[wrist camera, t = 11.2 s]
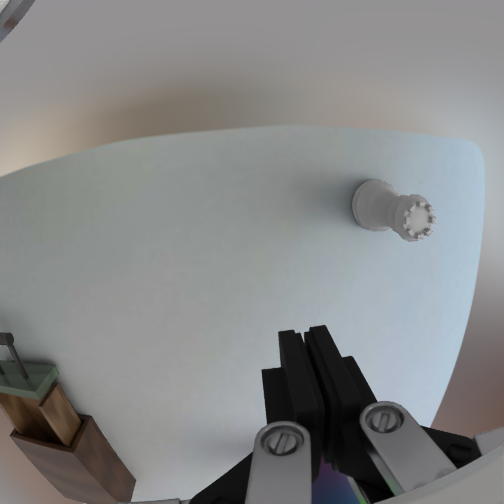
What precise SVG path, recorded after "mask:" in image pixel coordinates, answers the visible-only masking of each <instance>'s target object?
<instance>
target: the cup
mask: <svg viewBox="0 0 504 504" xmlns="http://www.w3.org/2000/svg"><path fill="white" fill-rule="evenodd" d="M311 504H360V502H359V500H358V498H357V496H356V494H355V493H354V491H353V489H352V487H351V485H350V483H349V481H348V478H347V475H345V474H342V473H340V472H339V470H336V471H333V470H332V467H331V463H329V464H325V462H324V459H323V455H322V458H321V465H320V471H319V477H318V478H317V479H316V480H315V481H314V482H313V484H312V485H311Z"/></svg>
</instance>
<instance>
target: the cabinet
mask: <svg viewBox="0 0 504 504" xmlns="http://www.w3.org/2000/svg"><path fill="white" fill-rule="evenodd" d="M77 416H78V417H79V419H80V420H81V422H82V424H83V425H82V427H81V429H80V431H79V433H78V435H77V437H76V439H75V441H74V443H73V445H72V447H71V448H68V447H63V446H59V445H54V444H50V443H46V442H42V441H39V440H35V439H31V438H28V437H25V436H21V435H20V434H19V433H18V432H17V430H16V429H15V428H14V430H13V431H12V433H11V434H10V437H11V438H12V440H13V441H14V442H15V443H16V445H17V446H18V447H19V448H20V450H21V451H22V452H23V453H24V454H25V456H26V457H27V458H28V459H29V460H30V461H31V462H32V464H33V465H34V466H35V467H36V468H37V469H38V470H39V471H40V472H41V474H42V475H43V476H44V477H45V478H46V479H47V480H48V481H49V482H50V483H51V484H52V485H53V486H54V487H55V488H56V489H57V490H58V491H59V492H60V493H61V494H62V495H63V496H65V497H66V498H69V499H72V500H76V501H80V502H83V503H87V504H112V503H118V502H131V499H132V495H133V491H134V487H135V482H136V480H135V478H134V477H133V476H132V474H131V473H130V472H129V471H128V469H127V468H126V467H125V465H124V464H123V463H122V461H121V460H120V459H119V457H118V456H117V454H116V453H115V452H114V450H113V449H112V447H111V446H110V444H109V443H108V441H107V440H106V438H105V437H104V435H103V434H102V432H101V431H100V429H99V428H98V426H97V424H96V423H95V421H94V419H93V418H92V416H85V415H77Z"/></svg>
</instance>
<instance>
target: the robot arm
mask: <svg viewBox="0 0 504 504" xmlns="http://www.w3.org/2000/svg"><path fill="white" fill-rule="evenodd" d="M9 2H10V0H0V13H1V12H2V11H3V9H4V8H5V7H6V6H7V4H8V3H9ZM278 336H279V348H280V361H281V367H279V368H271V369H263V370H262V380H263V389H264V399H265V408H266V418H267V425H266V426H265V427H263V428H262V429H261V430H260V431H259V432H258V433H257V436H256V438H255V443H254V449H253V452H252V453H250V454H249V455H248V456H247V457H245V458H244V459H243V460H242V461H241V462H239V463H238V464H237V465H236V466H234V467H233V468H232V469H230V470H229V471H228V472H227V473H225V474H224V475H223V476H221V477H220V478H219V479H217V480H216V481H215V482H213V483H212V484H211V485H209V486H208V487H206V488H205V489H204V490H202V491H201V492H199V493H198V494H196V495H195V496H194V497H193V498H192V499H189V500H182V501H180V499H179V498H176V499H168V500H157V501H144V502H118V503H112V504H311V485H312V484H313V482H314V481H315V480H316V479H317V478H318V477H319V471H320V465H321V458H322V455H323V459H324V462H325V464H329V463H331V467H332V470H333V471H336V470H339V472H340V473H342V474H345V475H347V478H348V481H349V483H350V485H351V487H352V489H353V491H354V493H355V494H356V496H357V498H358V500H359V502H360V504H504V426H502V427H499V428H496V429H492V430H489V431H486V432H483V433H479V434H476V435H474V436H473V438H472V439H470V438H468V437H465V436H461V435H457V434H452V433H448V432H443V431H440V430H436V429H432V428H428V427H424V426H421V425H419V424H418V423H417V422H416V420H415V419H414V418H413V417H412V416H411V415H410V414H409V412H408V411H407V410H406V409H405V408H404V407H402V406H401V405H399V404H397V403H395V402H390V401H380V402H377V400H376V398H375V396H374V394H373V392H372V390H371V389H370V387H369V385H368V383H367V381H366V379H365V378H364V376H363V374H362V372H361V370H360V368H359V367H358V365H357V363H356V361H355V359H354V358H353V357H352V356H347V357H341V355H340V353H339V351H338V349H337V347H336V345H335V343H334V341H333V339H332V337H331V335H330V333H329V331H328V329H327V327H326V326H325V325H322V326H315V327H310V328H309V331H308V332H304V342H303V339H302V336H301V333H295V331H294V330H287V331H279V332H278Z"/></svg>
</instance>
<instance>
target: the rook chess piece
mask: <svg viewBox="0 0 504 504" xmlns="http://www.w3.org/2000/svg"><path fill="white" fill-rule="evenodd" d="M352 211H353V213H354V216H355V219H356V220H357V222H358V223H359V224H360V225H361V226H362V227H364V228H367V229H369V230H372V231H385V230H387V229H389V228H392V229H393V231H395V232H397V233H398V234H399V235H400V236H401V238H402V239H404V240H407V241H409V242H410V241H418V240H419V239H423V237H424V236H425V235H427V236H429V235H430V234H431V233H432V232H433V231H432V230H431V229H430V226H431V224H436V217H434V216H432V212H433V211H434V209H433V208H432V206H431V205H430V204H429V203H428V201H427V200H426V199H425V198H424V197H422V196H420V195H414V194H411V195H409V196H407V195H401V196H399V193H398V192H397V191H396V190H395V188H394V187H393V186H392V185H390V184H388V183H386V182H382V181H380V180H370V181H367V182H365V183H363V184H362V185H361V186H360V187H359V188H358V189H357V190H356V192H355V195H354V198H353V200H352Z"/></svg>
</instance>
